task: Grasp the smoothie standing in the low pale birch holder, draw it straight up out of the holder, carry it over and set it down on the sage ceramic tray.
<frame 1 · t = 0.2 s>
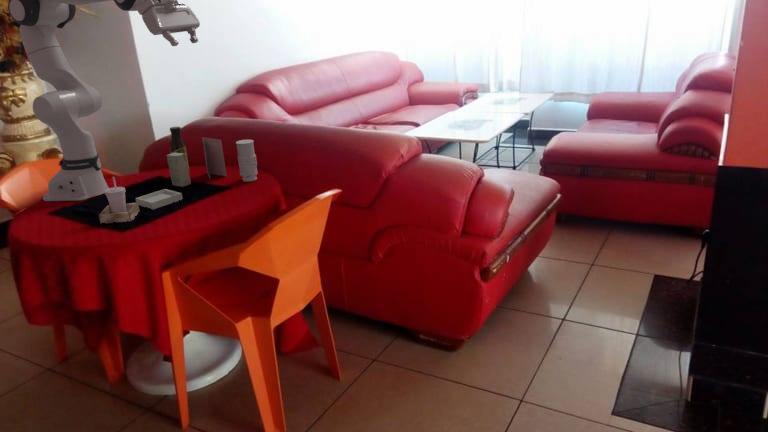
hand: (185, 43, 188), 54 cm above the table, tool tilted 30°, fingers open, 8 cm apart
sauce bottle: (182, 176, 243), on the table
skincare box: (181, 185, 231), on the table
smoothie: (120, 217, 199), resting in holder
greeting card: (216, 176, 241), on the table
holder: (120, 217, 199), on the table
tray: (159, 202, 212), on the table
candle: (249, 179, 234), on the table
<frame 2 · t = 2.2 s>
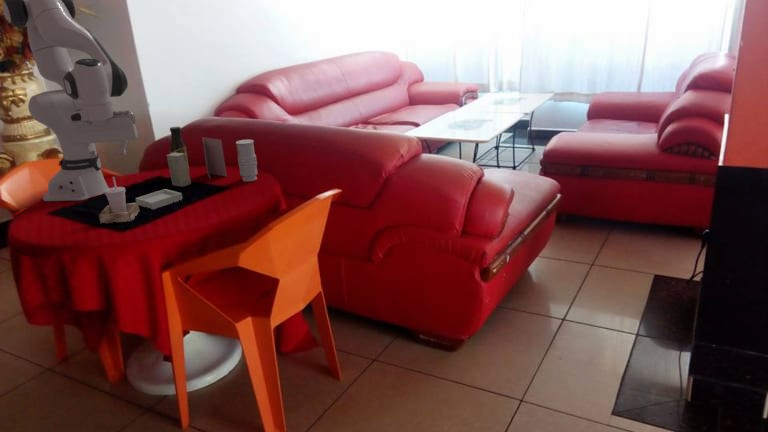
hand: (108, 155, 191), 21 cm above the table, tool pointing down, fingers open, 8 cm apart
nothing on the table moved.
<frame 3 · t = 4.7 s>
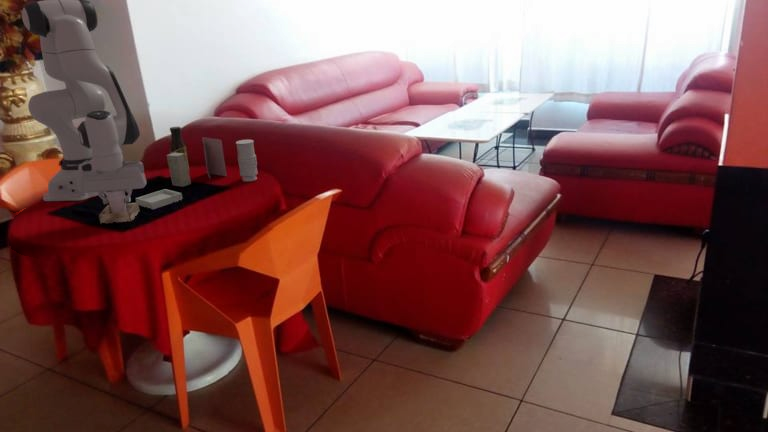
hand: (117, 202, 197), 5 cm above the table, tool pointing down, fingers closed on smoothie, 5 cm apart
smoothie: (120, 217, 199), resting in holder, touching gripper
everything else where it was.
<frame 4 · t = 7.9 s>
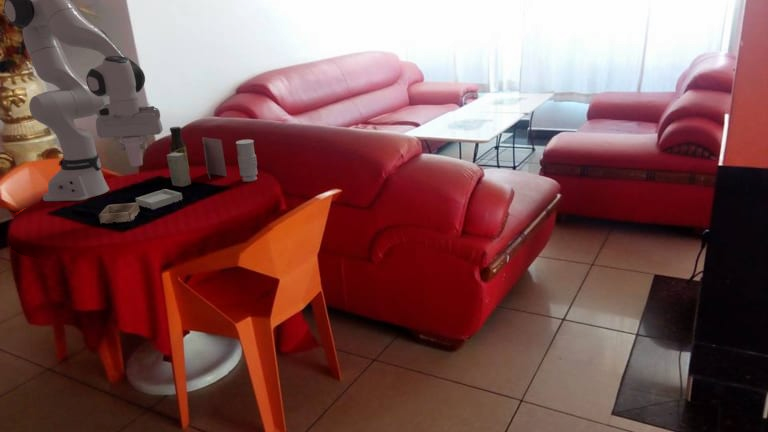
hand: (133, 149, 200), 21 cm above the table, tool pointing down, fingers closed on smoothie, 5 cm apart
smoothie: (136, 165, 202), point 15 cm above the table, touching gripper
everything else where it was.
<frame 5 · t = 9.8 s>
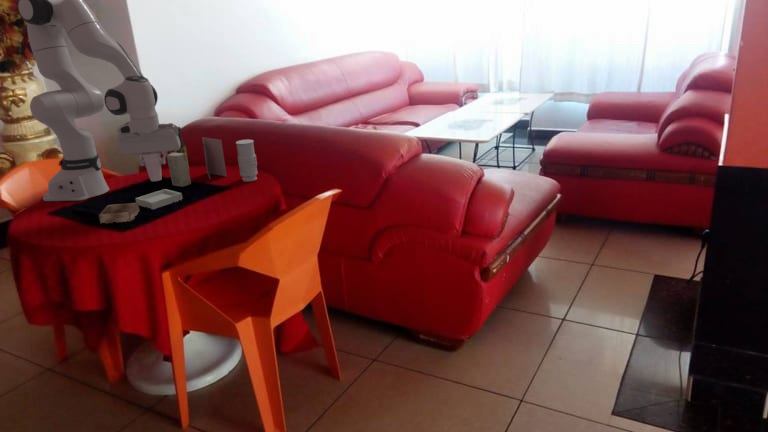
hand: (153, 164, 207), 14 cm above the table, tool pointing down, fingers closed on smoothie, 5 cm apart
smoothie: (156, 180, 209), point 8 cm above the table, touching gripper
everything else where it was.
when the fingers open (8 cm above the table, at t = 11.5 s): smoothie drops 1 cm, resting on tray.
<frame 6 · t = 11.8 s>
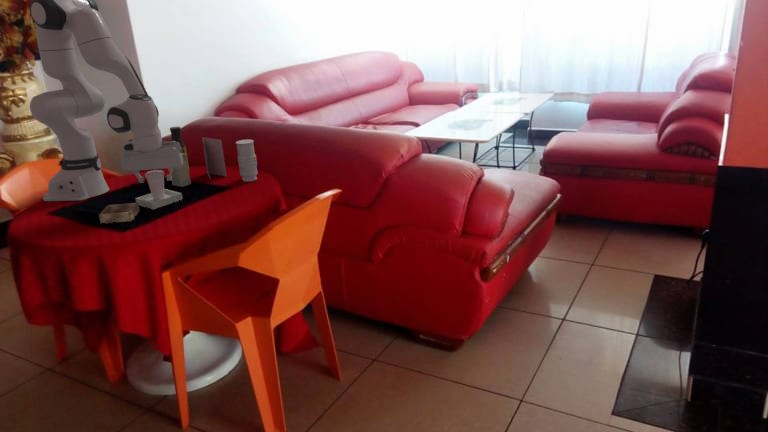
hand: (155, 181, 209), 8 cm above the table, tool pointing down, fingers open, 8 cm apart
smoothie: (159, 199, 212), point 1 cm above the table, touching tray
everything else where it was.
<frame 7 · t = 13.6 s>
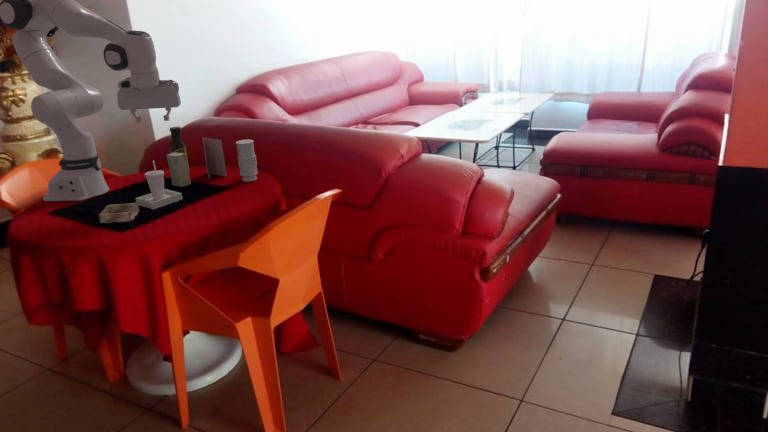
hand: (152, 121, 207), 28 cm above the table, tool pointing down, fingers open, 8 cm apart
nothing on the table moved.
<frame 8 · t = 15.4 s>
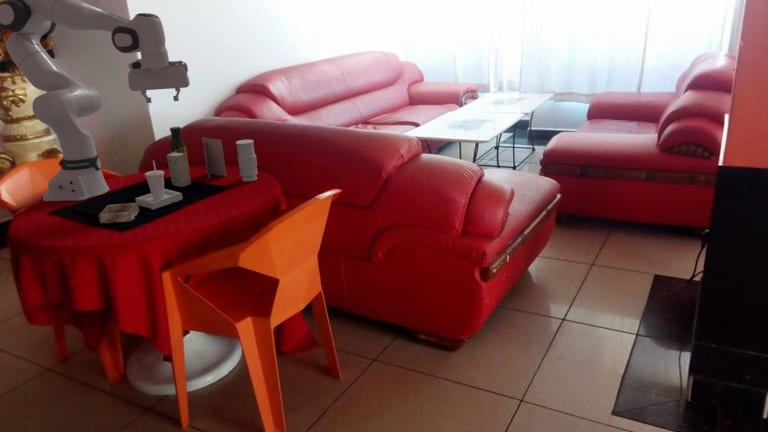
hand: (162, 101, 213), 33 cm above the table, tool pointing down, fingers open, 8 cm apart
nothing on the table moved.
at the end: smoothie inside the target area on the tray (0.1 cm from its centre), point 1.0 cm above the tray's base; smoothie moved 16.3 cm from its start; the gripper is holding nothing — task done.
